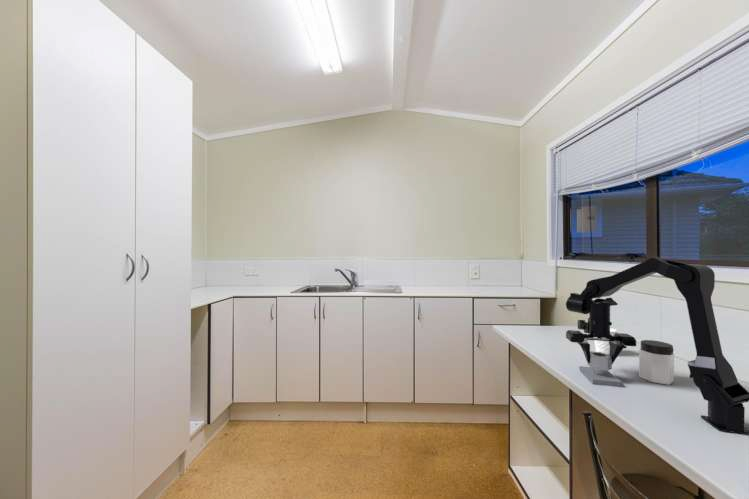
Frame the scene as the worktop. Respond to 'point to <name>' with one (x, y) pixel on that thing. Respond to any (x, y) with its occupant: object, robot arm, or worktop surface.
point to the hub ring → (600, 361)
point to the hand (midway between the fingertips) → (599, 363)
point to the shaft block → (600, 376)
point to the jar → (656, 362)
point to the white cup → (604, 344)
